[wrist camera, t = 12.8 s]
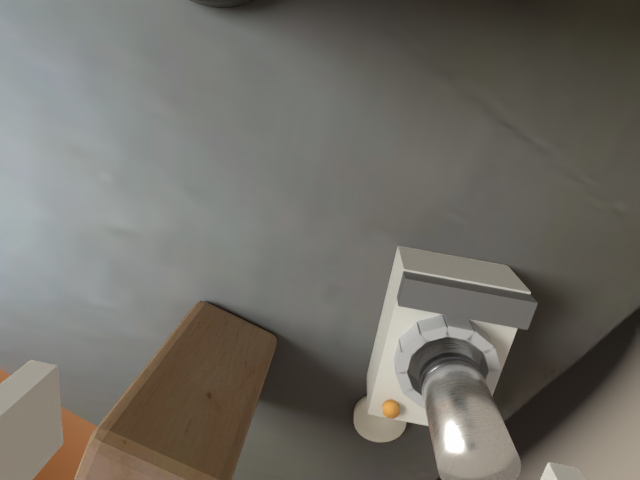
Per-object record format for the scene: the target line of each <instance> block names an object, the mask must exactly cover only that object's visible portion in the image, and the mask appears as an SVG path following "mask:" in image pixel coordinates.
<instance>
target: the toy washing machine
mask: <svg viewBox="0 0 640 480" xmlns="http://www.w3.org/2000/svg"><path fill="white" fill-rule="evenodd" d="M537 305H538V302H537V301H536V300H535V299H534V298H533V297H532V296H531V291H530V290H529V289H528V288H527V287H526V286H525V285H524V284H523V282H522V281H521V280H520V279H519V278H518V277H517V276H516V274H515V273H514V272H513V271H512V270H511V269H510V268H509V267H508V265H503V264H497V263H492V262H486V261H481V260H475V259H470V258H464V257H459V256H453V255H448V254H442V253H437V252H431V251H426V250H420V249H415V248H409V247H404V246H398V247H397V251H396V255H395V259H394V264H393V268H392V272H391V276H390V280H389V285H388V289H387V293H386V297H385V301H384V305H383V310H382V314H381V318H380V322H379V326H378V330H377V335H376V339H375V343H374V347H373V351H372V355H371V360H370V364H369V368H368V372H367V413H368V414H370V415H375V416H380V417H385V418H390V419H395V420H400V421H405V422H410V423H415V424H421V425H426V426H429V425H428V420H427V415H426V410H425V406H424V401H423V397H422V393H421V388H420V383H419V377H418V372H417V368H416V363H415V353H416V351H417V350H418V349H419V348H420V347H422V346H423V345H424V344H425V343H426V342H429V341H433V340H437V339H440V338H444V337H452V338H457V339H462V340H465V341H466V342H467V343H468V344H469V346H470V347H471V350H472V352H473V354H474V357H475V359H476V361H477V363H478V366H479V367H480V369H481V372H482V374H483V376H484V378H485V381H486V384H487V386H488V388H489V390H490V393H491V395H492V396H493V393H494V390H495V388H496V385H497V382H498V380H499V377H500V374H501V372H502V369H503V366H504V364H505V361H506V358H507V356H508V353H509V350H510V348H511V345H512V342H513V340H514V337H515V334H516V331H517V329H518V328H519V329H524V330H528V328H529V325H530V323H531V320H532V318H533V315H534V312H535V310H536V307H537Z"/></svg>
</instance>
